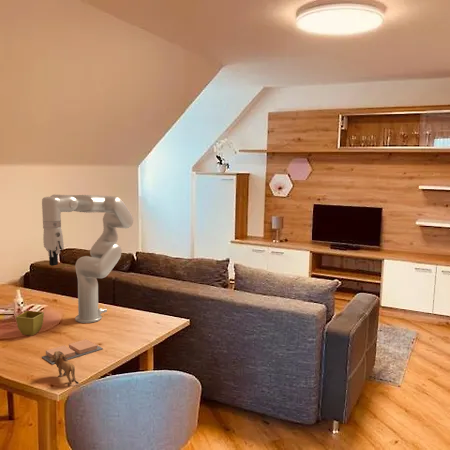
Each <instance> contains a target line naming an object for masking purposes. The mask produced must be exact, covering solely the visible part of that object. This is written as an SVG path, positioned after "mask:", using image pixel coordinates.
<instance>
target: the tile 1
mask: <svg viewBox="0 0 450 450" xmlns="http://www.w3.org/2000/svg"><path fill="white" fill-rule="evenodd" d="M55 351H60V352H62V353H63V354H64V355H65V356H66V357H67V358H69V357H72V356H75V351H73V350H72V349H70V348H69V346H67V345H61V346H57V347H53V348H50V349H46V350H45V356H46V355H48V356H49V357H52V356H53V355H54V352H55Z"/></svg>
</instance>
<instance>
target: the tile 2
mask: <svg viewBox="0 0 450 450" xmlns="http://www.w3.org/2000/svg"><path fill="white" fill-rule="evenodd" d="M97 346H98V344H96V343H94V342H92V341H91V340H89V339H87V338H85V339H82V340H78V341H75V342H71V343H69V344H68V348H70V349H72V350H74V351H75V352H77V353H79V354H82V353H85V352H89V351H92V350H95V349H97Z"/></svg>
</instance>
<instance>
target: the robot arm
mask: <svg viewBox="0 0 450 450" xmlns="http://www.w3.org/2000/svg"><path fill="white" fill-rule="evenodd" d="M41 209H42V210H41V211H42V213H41V214H42V230H43V234H42V235H43V239H42V240H43V247H44V249H45V250H46V252H47V254H48V260H49V263H48V264H49V266H52V267H53V266H58V265H59V258H58V257H59V255H60V254H61V251H63V250H64V248H65V247H64V235H63V230H62V218H61V215H62V214H61V213H72V212H77V213H85V214H86V213H89V214H90V213H91V214H92V213H94V214H95V213H104V214H103V216H102V226H103V231H102V234H101V235H100V236H99V238H97V240H96V241H95V243H93V244H92V246H91V248H90V251H89V254H90V256H89V255H85V256H81V257H79V258H78V259H77V260H76V262H75V265H74V266H75V273H76V277H77V299H78V300H77V301H78V303H77V304H78V307H77V312H78V314H77V315H76V316H75V317H74V318H75V322H78V323H81V324H89V323H90V324H91V323H96V322H99V321H101V320H102V314H104V313H107V312H108V309H107V307H106V308H100V307H99V282H98V279H104V278H106V277H108V275H109V274H110V273H111V271H113V269H114V267H115V266H116V265H117V263H118V262H119V260H120V258H121V256H122V246H120V245H119V244H118V243H117V242H118V240H119V235H118V231H117V230H118V229H129V228H131V227H132V226H133V224H134V217H133V214H132V212H131V211H130V210H129V208H128V206H127V205H126V204H125V202H124V201H123V200H122V199H121V198H120V197H119V196H112V195H99V194H93V195H92V194H52V195H50V196H45V197H43V198H42V199H41ZM117 228H118V229H117Z"/></svg>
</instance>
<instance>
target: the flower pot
mask: <svg viewBox="0 0 450 450" xmlns="http://www.w3.org/2000/svg"><path fill="white" fill-rule="evenodd" d="M44 317H45V312H44V311H43V312H42V311H33V310H26V311H24V312H23V313H21V314H19V315H17V316H15V320H16V325H17V329H18V331H19V332H20V333H21V334H22V335H25V336H33V335H36V334H38V333H39V332H40V330H41V328H42V327H43V324H44Z"/></svg>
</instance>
